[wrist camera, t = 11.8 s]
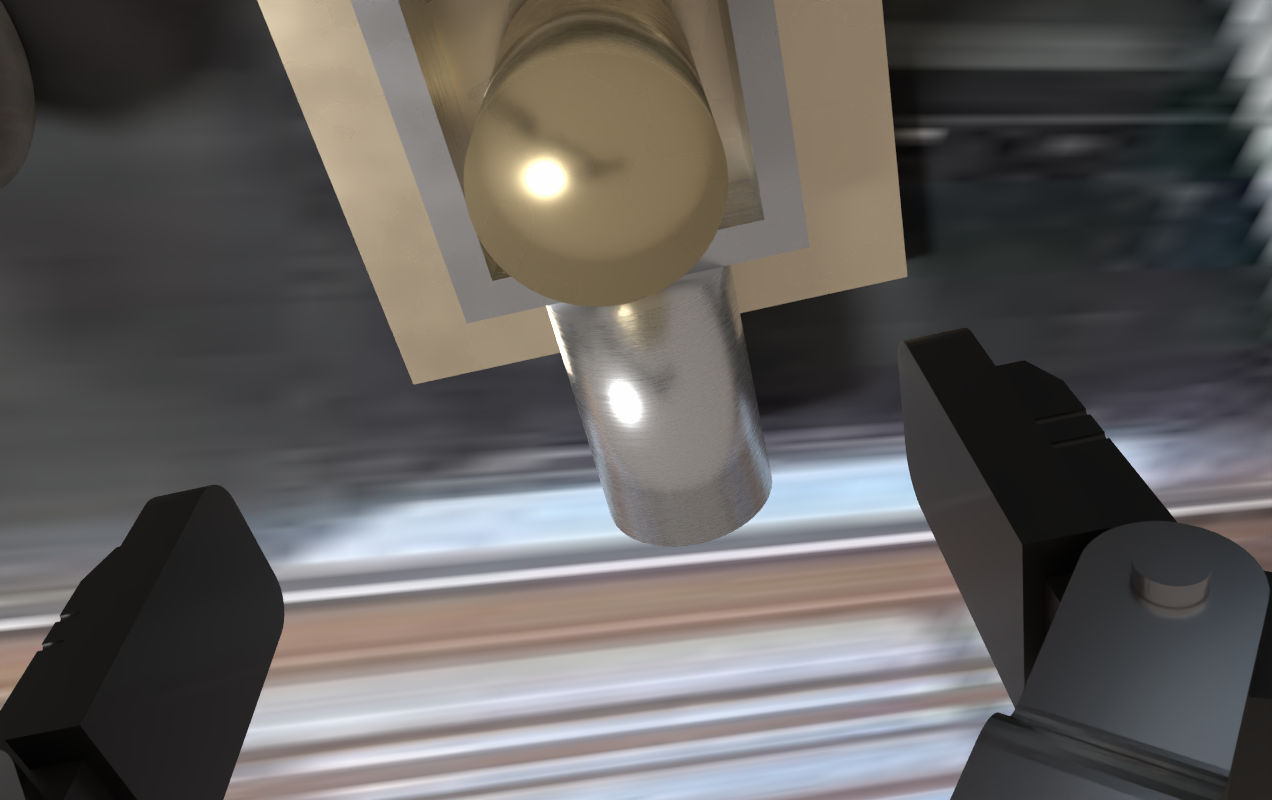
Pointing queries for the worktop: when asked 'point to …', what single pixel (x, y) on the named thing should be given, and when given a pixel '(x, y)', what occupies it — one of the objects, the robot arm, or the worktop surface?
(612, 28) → the brass cylinder plug
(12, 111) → the pipe fitting
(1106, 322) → the worktop surface
